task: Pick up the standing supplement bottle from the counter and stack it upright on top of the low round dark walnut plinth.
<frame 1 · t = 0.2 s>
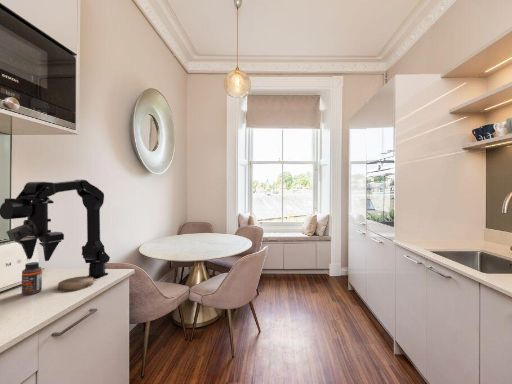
hand: (38, 259, 95), 14 cm above the worktop, tool pointing down, fingers open, 9 cm apart
walnut plinth: (76, 285, 109), on the worktop
supplement bottle: (31, 293, 102), on the worktop
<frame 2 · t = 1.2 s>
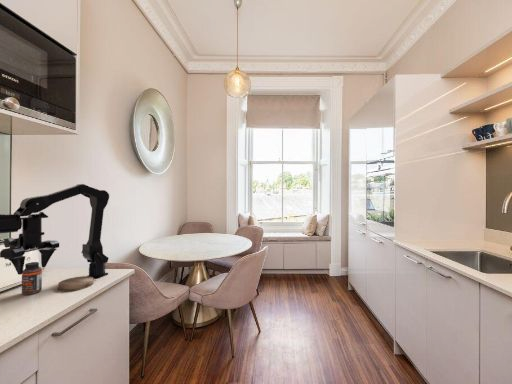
hand: (32, 270, 102), 8 cm above the worktop, tool pointing down, fingers open, 9 cm apart
nothing on the worktop moved.
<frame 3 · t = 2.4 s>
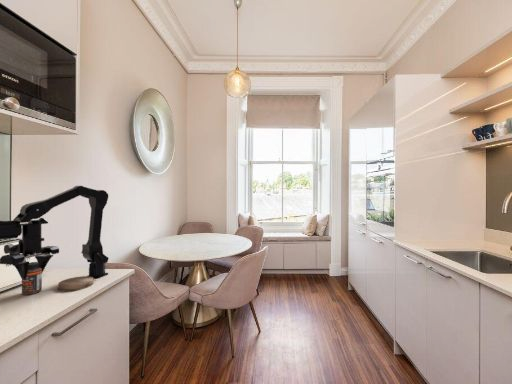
hand: (31, 276, 102), 6 cm above the worktop, tool pointing down, fingers closed on supplement bottle, 6 cm apart
supplement bottle: (31, 293, 102), on the worktop, touching gripper
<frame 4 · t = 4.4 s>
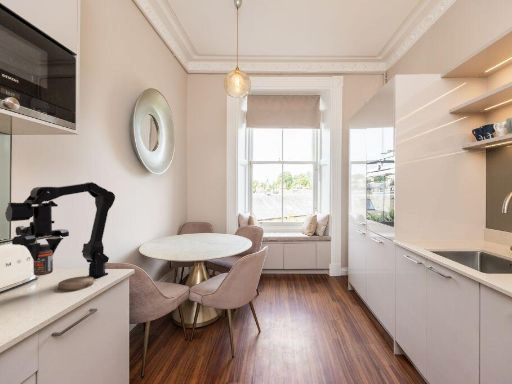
hand: (43, 258, 104), 13 cm above the worktop, tool pointing down, fingers closed on supplement bottle, 6 cm apart
supplement bottle: (43, 274, 104), point 6 cm above the worktop, touching gripper
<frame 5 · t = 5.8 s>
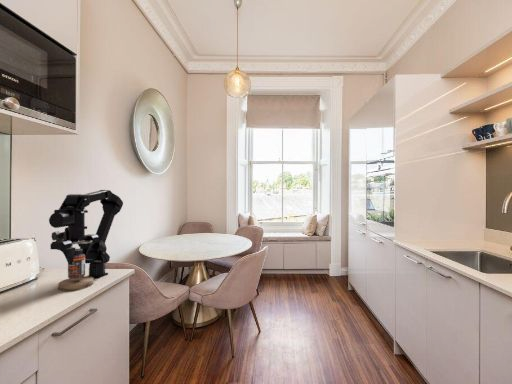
hand: (76, 262, 109), 10 cm above the worktop, tool pointing down, fingers closed on supplement bottle, 6 cm apart
supplement bottle: (76, 277, 109), point 3 cm above the worktop, touching gripper
when the fingers open (9 cm above the worktop, at t = 6.7 s): supplement bottle drops 1 cm, resting on walnut plinth.
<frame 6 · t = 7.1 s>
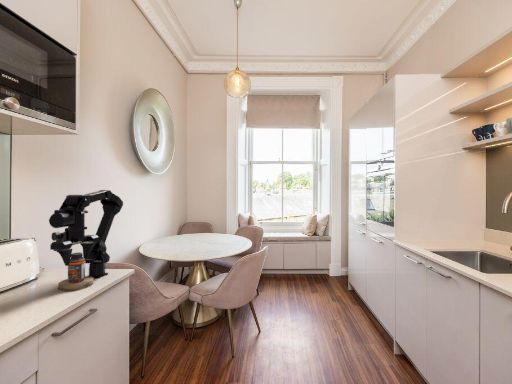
hand: (76, 262, 109), 9 cm above the worktop, tool pointing down, fingers open, 9 cm apart
supplement bottle: (76, 281, 109), point 2 cm above the worktop, touching walnut plinth
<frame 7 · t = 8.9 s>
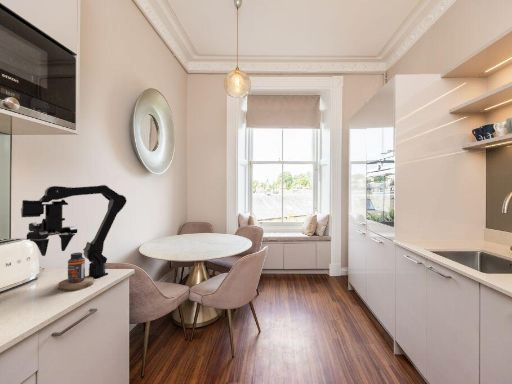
hand: (53, 253, 110), 13 cm above the worktop, tool pointing down, fingers open, 9 cm apart
nothing on the worktop moved.
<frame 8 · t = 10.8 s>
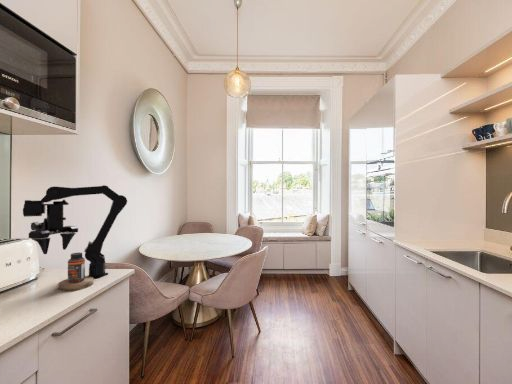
hand: (55, 251, 114), 13 cm above the worktop, tool pointing down, fingers open, 9 cm apart
nothing on the worktop moved.
at the end: supplement bottle 0.1 cm off-centre on the walnut plinth, point 1.8 cm above the walnut plinth's base; supplement bottle tilted 1°; the gripper is holding nothing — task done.
